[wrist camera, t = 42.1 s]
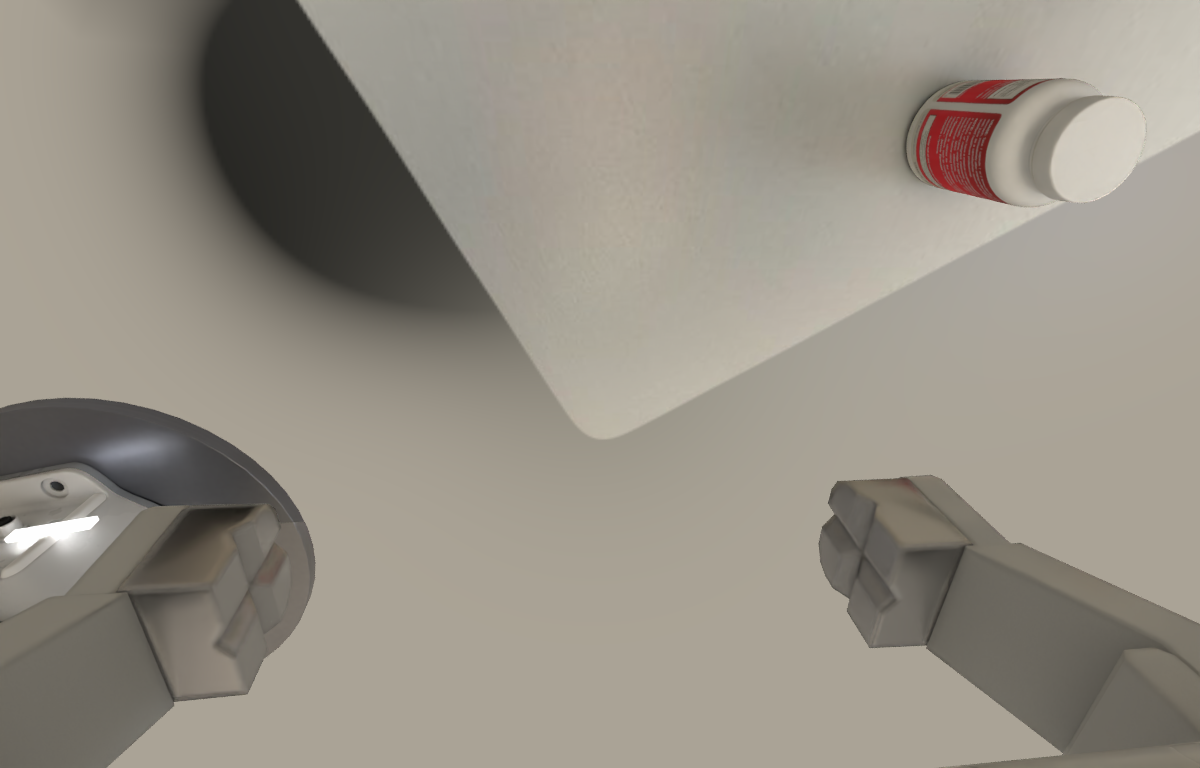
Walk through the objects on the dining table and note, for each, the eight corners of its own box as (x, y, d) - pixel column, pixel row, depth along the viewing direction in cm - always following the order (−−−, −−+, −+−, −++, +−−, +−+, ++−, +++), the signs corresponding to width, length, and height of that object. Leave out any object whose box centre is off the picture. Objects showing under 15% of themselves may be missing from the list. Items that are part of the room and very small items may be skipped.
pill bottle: (941, 205, 40) (1078, 244, 30) (882, 146, 38) (1009, 167, 28) (1016, 123, 38) (1188, 136, 28) (959, 56, 36) (1123, 45, 26)
